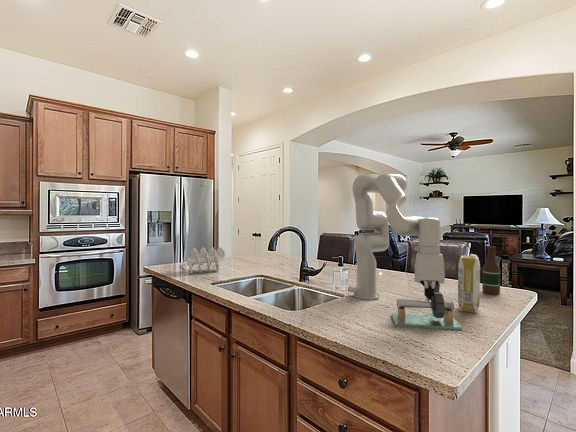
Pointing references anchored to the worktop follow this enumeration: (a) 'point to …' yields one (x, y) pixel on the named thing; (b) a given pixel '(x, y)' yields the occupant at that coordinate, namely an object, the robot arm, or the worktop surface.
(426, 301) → the teal plate with rod
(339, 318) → the worktop surface
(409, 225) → the robot arm
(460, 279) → the juice carton
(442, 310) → the ring
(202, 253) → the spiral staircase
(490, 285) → the beer bottle
